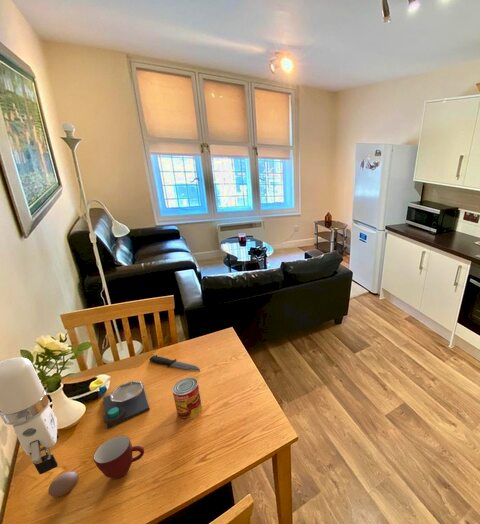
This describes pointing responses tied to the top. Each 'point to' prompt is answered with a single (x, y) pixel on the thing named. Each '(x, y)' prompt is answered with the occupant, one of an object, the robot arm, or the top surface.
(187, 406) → the canned food
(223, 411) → the top surface
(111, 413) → the tare button
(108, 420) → the scale
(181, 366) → the knife
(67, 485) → the egg
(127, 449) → the mug
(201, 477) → the top surface
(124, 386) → the shallow metal dish
